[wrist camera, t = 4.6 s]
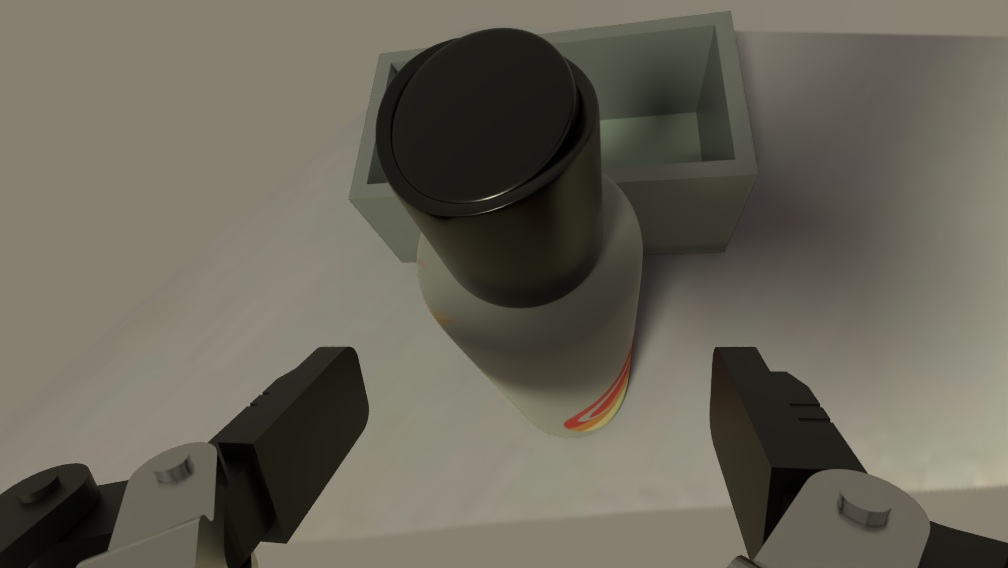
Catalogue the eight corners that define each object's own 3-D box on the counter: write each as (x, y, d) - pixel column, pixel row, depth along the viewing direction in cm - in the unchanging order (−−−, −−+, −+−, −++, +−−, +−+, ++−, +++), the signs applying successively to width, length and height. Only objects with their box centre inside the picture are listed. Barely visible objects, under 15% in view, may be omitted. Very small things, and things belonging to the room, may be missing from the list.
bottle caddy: (706, 112, 31) (730, 10, 25) (724, 251, 27) (758, 174, 21) (421, 136, 34) (379, 53, 28) (402, 262, 31) (348, 199, 24)
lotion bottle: (651, 381, 25) (751, 59, 7) (572, 465, 24) (458, 343, 6) (567, 309, 27) (485, -70, 9) (493, 384, 26) (246, 123, 9)
